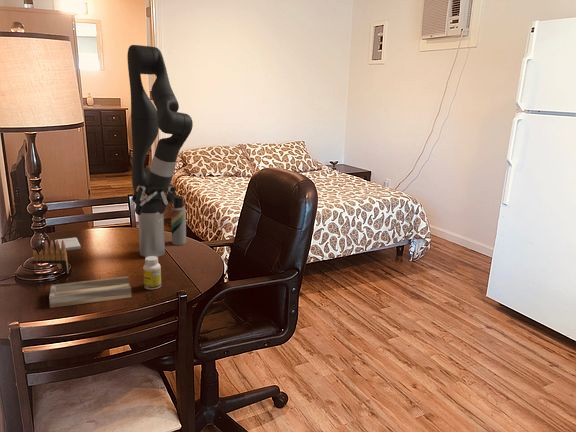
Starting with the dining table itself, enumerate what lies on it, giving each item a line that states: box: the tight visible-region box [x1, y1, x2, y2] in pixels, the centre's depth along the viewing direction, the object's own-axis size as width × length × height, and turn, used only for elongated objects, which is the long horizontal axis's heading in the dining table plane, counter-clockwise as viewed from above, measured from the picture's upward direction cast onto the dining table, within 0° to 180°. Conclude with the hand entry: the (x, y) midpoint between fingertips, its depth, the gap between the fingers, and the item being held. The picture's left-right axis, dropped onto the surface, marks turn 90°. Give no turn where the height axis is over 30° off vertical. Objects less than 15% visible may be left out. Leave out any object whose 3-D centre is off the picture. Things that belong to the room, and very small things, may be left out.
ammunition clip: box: [32, 239, 70, 275], centre depth 150 cm, size 11×2×12 cm, turn 98°
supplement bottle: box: [142, 256, 162, 290], centre depth 144 cm, size 5×5×10 cm
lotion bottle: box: [170, 194, 187, 246], centre depth 185 cm, size 6×6×20 cm
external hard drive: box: [54, 237, 82, 251], centre depth 180 cm, size 2×8×12 cm
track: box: [48, 275, 132, 309], centre depth 137 cm, size 10×22×3 cm, turn 114°
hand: (149, 213), depth 152 cm, fingers open, 8 cm apart
